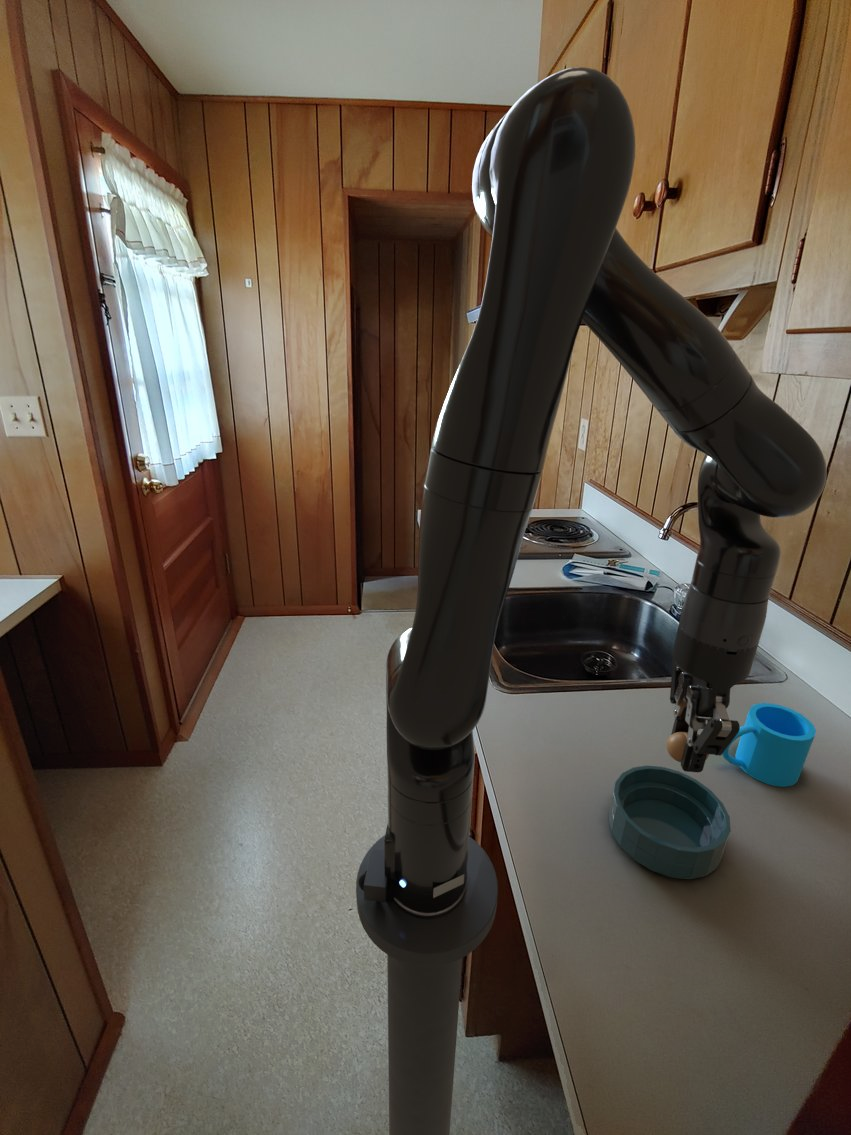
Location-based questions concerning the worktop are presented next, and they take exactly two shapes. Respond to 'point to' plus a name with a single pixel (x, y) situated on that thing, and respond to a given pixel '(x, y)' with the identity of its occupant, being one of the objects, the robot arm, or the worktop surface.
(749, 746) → the mug
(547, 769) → the worktop surface
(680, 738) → the bread
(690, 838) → the bowl
